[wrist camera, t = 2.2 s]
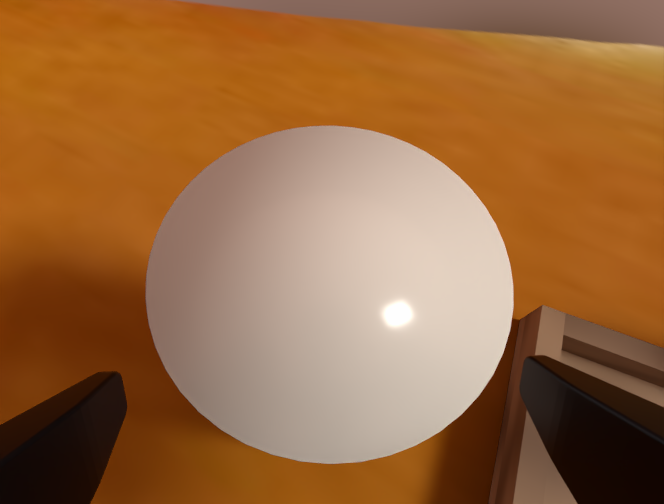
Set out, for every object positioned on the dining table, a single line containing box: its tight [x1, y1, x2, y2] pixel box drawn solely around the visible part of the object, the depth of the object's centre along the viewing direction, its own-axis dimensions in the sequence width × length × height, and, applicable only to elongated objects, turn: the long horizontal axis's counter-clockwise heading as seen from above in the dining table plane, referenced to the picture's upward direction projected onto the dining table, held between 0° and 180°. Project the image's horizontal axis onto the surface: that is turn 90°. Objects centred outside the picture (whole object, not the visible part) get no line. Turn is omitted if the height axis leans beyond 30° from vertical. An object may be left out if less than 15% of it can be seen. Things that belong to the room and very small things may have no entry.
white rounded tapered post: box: [146, 126, 513, 464], centre depth 12 cm, size 6×6×12 cm
